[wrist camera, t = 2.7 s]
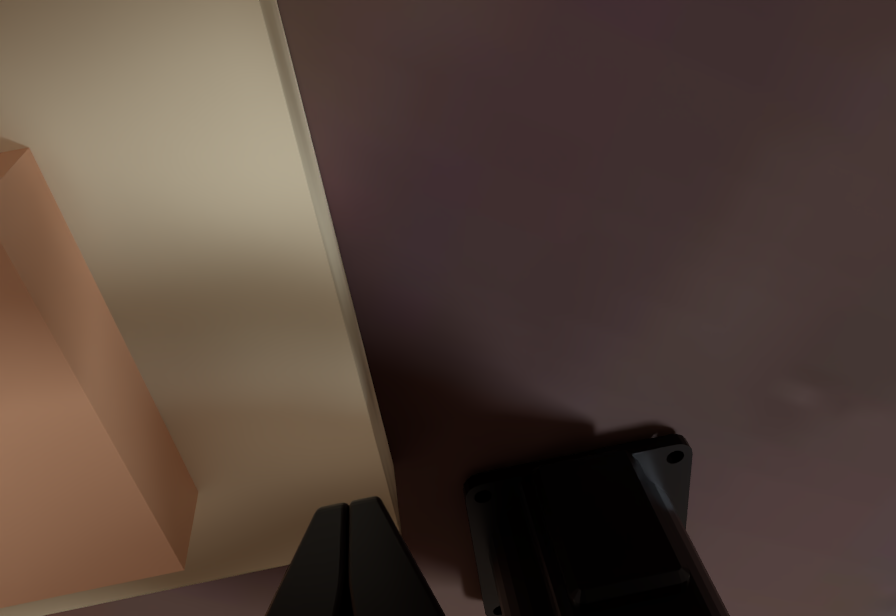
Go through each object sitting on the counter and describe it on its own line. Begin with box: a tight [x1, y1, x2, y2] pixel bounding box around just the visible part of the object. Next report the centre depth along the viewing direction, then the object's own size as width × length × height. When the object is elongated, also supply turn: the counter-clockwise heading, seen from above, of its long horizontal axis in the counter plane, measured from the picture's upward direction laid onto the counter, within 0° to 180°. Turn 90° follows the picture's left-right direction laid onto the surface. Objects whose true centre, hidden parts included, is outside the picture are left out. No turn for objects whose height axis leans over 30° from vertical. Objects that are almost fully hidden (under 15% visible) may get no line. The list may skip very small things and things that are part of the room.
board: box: [0, 0, 402, 616], centre depth 14 cm, size 14×13×2 cm
